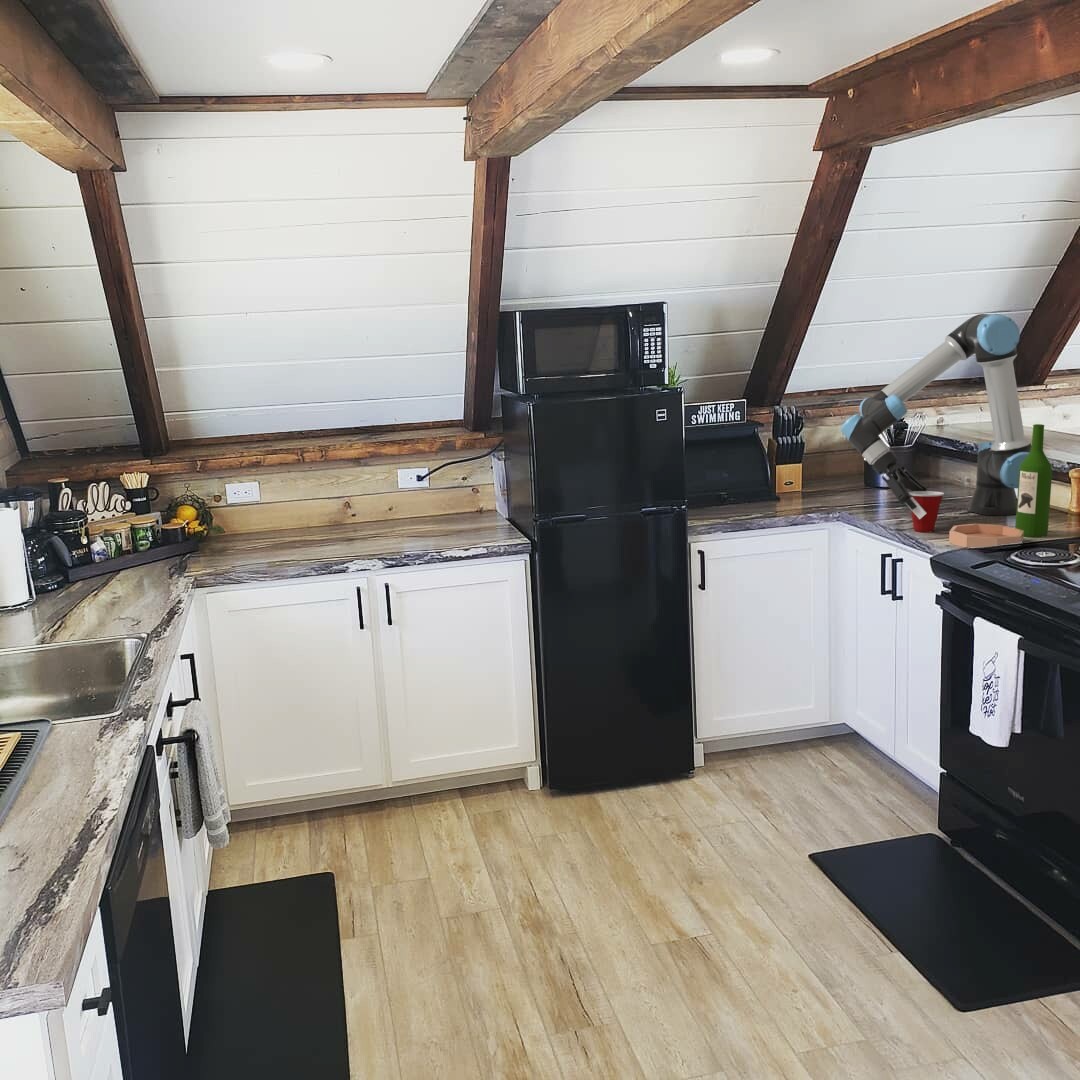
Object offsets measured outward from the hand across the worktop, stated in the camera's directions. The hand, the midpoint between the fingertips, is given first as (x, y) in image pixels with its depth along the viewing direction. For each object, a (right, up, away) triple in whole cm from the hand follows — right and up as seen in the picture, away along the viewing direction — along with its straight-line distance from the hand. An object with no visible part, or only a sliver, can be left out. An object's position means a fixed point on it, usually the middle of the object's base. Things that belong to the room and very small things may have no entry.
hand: (929, 513), depth 339 cm
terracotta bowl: (+11, -9, -16) cm, 21 cm away
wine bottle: (+28, -7, -7) cm, 29 cm away
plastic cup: (-1, -5, +2) cm, 6 cm away
